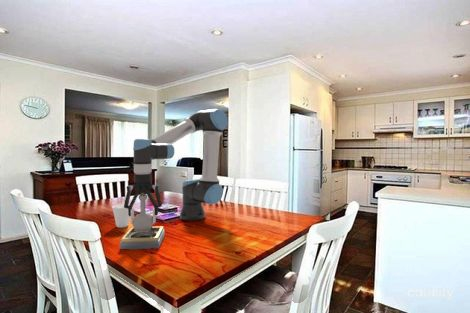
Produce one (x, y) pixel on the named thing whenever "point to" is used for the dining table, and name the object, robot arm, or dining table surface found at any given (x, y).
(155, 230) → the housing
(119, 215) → the cup
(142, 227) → the potion bottle
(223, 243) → the dining table surface
